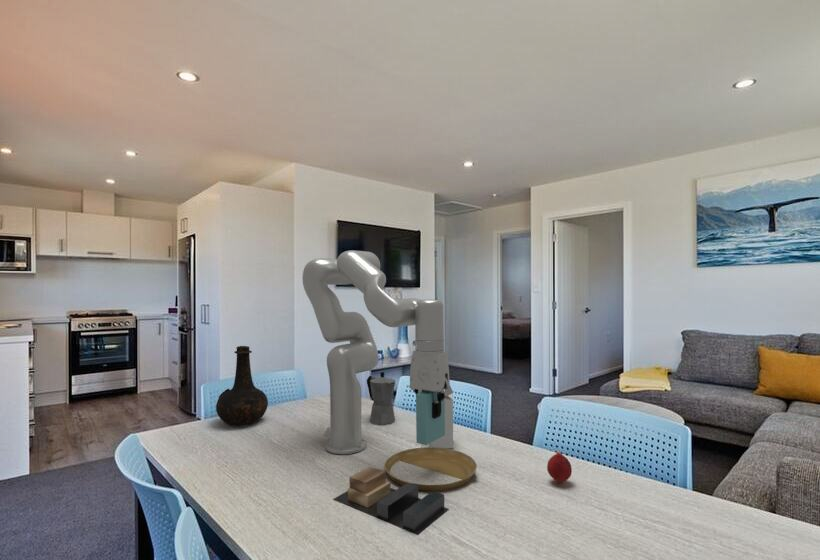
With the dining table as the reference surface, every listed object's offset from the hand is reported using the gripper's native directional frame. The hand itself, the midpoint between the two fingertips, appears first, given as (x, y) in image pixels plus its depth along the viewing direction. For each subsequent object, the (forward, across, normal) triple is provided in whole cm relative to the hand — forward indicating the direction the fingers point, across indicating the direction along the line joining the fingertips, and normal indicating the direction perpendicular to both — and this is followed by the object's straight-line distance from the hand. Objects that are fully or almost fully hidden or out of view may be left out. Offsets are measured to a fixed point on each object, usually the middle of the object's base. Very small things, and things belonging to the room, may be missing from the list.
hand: (430, 415), depth 113 cm
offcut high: (+12, -5, -20) cm, 23 cm away
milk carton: (+16, -9, +20) cm, 27 cm away
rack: (+16, +2, -20) cm, 25 cm away
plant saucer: (+16, 0, 0) cm, 16 cm away
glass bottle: (+15, -80, -4) cm, 82 cm away
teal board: (+6, 0, 0) cm, 6 cm away
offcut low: (+15, -4, -20) cm, 25 cm away
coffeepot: (+16, -40, +27) cm, 51 cm away
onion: (+16, +29, +15) cm, 36 cm away
